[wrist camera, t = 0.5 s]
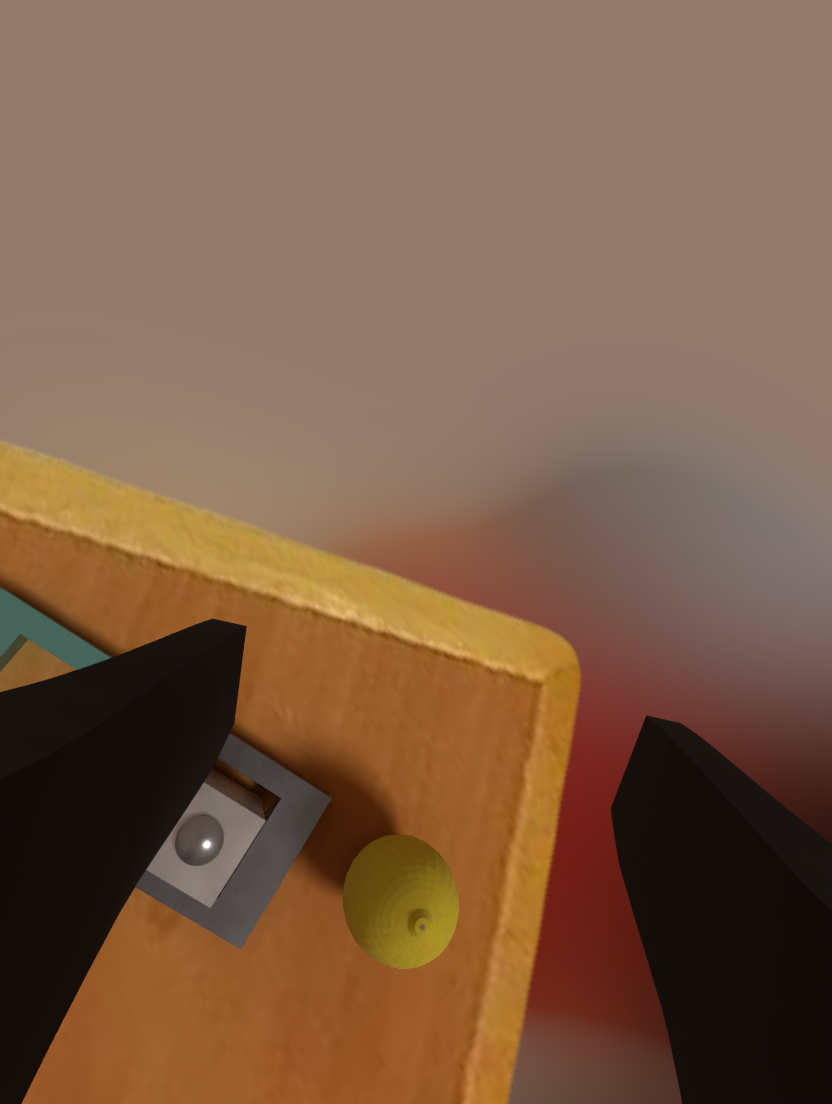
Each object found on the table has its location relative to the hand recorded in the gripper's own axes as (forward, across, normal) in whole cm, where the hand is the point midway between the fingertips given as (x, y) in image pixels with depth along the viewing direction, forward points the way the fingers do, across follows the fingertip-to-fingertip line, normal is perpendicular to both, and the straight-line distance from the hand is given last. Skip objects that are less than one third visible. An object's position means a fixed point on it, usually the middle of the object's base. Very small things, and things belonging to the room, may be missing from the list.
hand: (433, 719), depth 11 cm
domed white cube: (+16, +9, +19) cm, 27 cm away
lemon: (+17, -1, +22) cm, 28 cm away
